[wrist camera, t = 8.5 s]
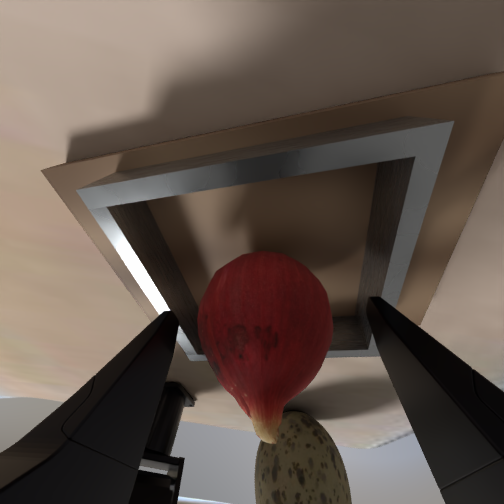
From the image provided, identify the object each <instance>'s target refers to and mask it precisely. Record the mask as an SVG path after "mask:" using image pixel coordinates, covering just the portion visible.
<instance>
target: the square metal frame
mask: <svg viewBox="0 0 504 504" xmlns="http://www.w3.org/2000/svg"><path fill="white" fill-rule="evenodd" d="M453 124H454V121H452V120H442V119H432V118H422V117H412V116H405V117H400V118H394V119H389V120H384V121H379V122H374V123H368V124H363V125H358V126H353V127H348V128H342V129H337V130H332V131H327V132H322V133H316V134H311V135H306V136H301V137H296V138H290V139H285V140H280V141H275V142H270V143H264V144H259V145H254V146H249V147H244V148H238V149H233V150H228V151H223V152H218V153H212V154H207V155H202V156H197V157H192V158H186V159H181V160H176V161H171V162H166V163H161V164H155V165H150V166H145V167H140V168H135V169H129V170H124V171H119V172H115V173H112V174H110V175H108V176H106V177H104V178H101V179H99V180H97V181H95V182H93V183H90V184H88V185H86V186H84V187H81V188H79V189H77V190H76V191H77V193H78V194H79V196H80V197H81V199H82V200H83V202H84V203H85V205H86V206H87V208H88V209H89V211H90V212H91V214H92V215H93V217H94V218H95V220H96V221H97V223H98V224H99V225H100V227H101V228H102V230H103V231H104V233H105V234H106V236H107V237H108V239H109V240H110V242H111V243H112V245H113V246H114V248H115V249H116V251H117V252H118V254H119V255H120V257H121V258H122V260H123V261H124V263H125V264H126V266H127V267H128V269H129V270H130V272H131V273H132V275H133V276H134V278H135V279H136V280H137V282H138V283H139V285H140V286H141V288H142V289H143V291H144V292H145V294H146V295H147V297H148V298H149V300H150V301H151V303H152V304H153V306H154V307H155V309H156V310H157V312H158V313H159V315H160V314H161V313H162V312H163V311H169V310H172V311H173V312H174V313H175V315H176V317H177V318H178V320H179V329H178V334H177V339H176V340H177V341H178V343H179V344H180V346H181V347H182V349H183V350H184V352H185V353H186V355H187V356H188V358H189V359H190V361H208V360H207V358H206V356H205V354H204V351H203V349H202V346H201V342H200V339H199V335H198V322H197V317H198V312H199V308H198V306H197V303H196V301H195V299H194V297H193V295H192V293H191V291H190V289H189V287H188V285H187V283H186V281H185V279H184V277H183V275H182V273H181V271H180V269H179V267H178V265H177V263H176V261H175V259H174V257H173V255H172V253H171V251H170V249H169V247H168V245H167V243H166V241H165V239H164V237H163V235H162V233H161V231H160V228H159V226H158V224H157V222H156V220H155V218H154V216H153V214H152V212H151V210H150V208H149V206H148V204H147V202H146V200H151V199H157V198H163V197H169V196H175V195H181V194H187V193H193V192H199V191H206V190H212V189H218V188H224V187H230V186H236V185H242V184H248V183H255V182H261V181H267V180H273V179H279V178H285V177H291V176H297V175H304V174H310V173H316V172H322V171H328V170H334V169H340V168H346V167H352V166H359V165H365V164H371V163H377V162H378V165H377V172H376V178H375V185H374V191H373V198H372V205H371V211H370V218H369V224H368V231H367V238H366V244H365V251H364V257H363V264H362V271H361V277H360V284H359V290H358V297H357V304H356V310H355V316H337V317H332V320H333V335H332V342H331V344H330V347H329V350H328V352H327V355H326V357H325V358H334V357H373V356H380V354H379V352H378V349H377V346H376V343H375V340H374V337H373V334H372V330H371V327H370V324H369V321H368V318H367V315H366V306H367V301H368V298H369V297H372V296H379V297H381V298H383V299H384V300H385V301H387V302H388V303H389V304H390V305H392V306H393V307H394V308H396V305H397V302H398V299H399V296H400V292H401V289H402V286H403V283H404V280H405V277H406V273H407V270H408V267H409V264H410V261H411V257H412V254H413V251H414V248H415V245H416V242H417V238H418V235H419V232H420V229H421V226H422V223H423V219H424V216H425V213H426V210H427V207H428V203H429V200H430V197H431V194H432V191H433V188H434V184H435V181H436V178H437V175H438V172H439V169H440V165H441V162H442V159H443V156H444V153H445V149H446V146H447V143H448V140H449V137H450V134H451V130H452V127H453Z"/></svg>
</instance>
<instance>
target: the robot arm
mask: <svg viewBox="0 0 504 504" xmlns="http://www.w3.org/2000/svg"><path fill="white" fill-rule="evenodd" d="M366 315H367V318H368V321H369V324H370V327H371V330H372V334H373V337H374V340H375V343H376V346H377V349H378V352H379V354H380V356H381V359H382V361H383V363H384V365H385V368H386V370H387V372H388V374H389V377H390V379H391V381H392V383H393V386H394V388H395V390H396V393H397V395H398V397H399V399H400V402H401V404H402V406H403V408H404V411H405V413H406V415H407V417H408V420H409V422H410V424H411V426H412V429H413V431H414V433H415V435H416V437H417V440H418V442H419V444H420V447H421V449H422V451H423V453H424V456H425V458H426V460H427V463H428V465H429V467H430V469H431V472H432V474H433V476H434V478H435V481H436V483H437V485H438V487H439V489H440V492H441V494H442V497H443V499H444V501H445V504H504V392H503V391H502V390H501V389H499V388H498V387H497V386H495V385H494V384H493V383H491V382H490V381H489V380H487V379H486V378H485V377H484V376H482V375H481V374H480V373H478V372H477V371H476V370H474V369H472V368H471V367H470V366H469V365H468V364H467V363H465V362H464V361H463V360H461V359H460V358H459V357H458V356H456V355H455V354H454V353H452V352H451V351H450V350H449V349H447V348H446V347H445V346H443V345H442V344H441V343H439V342H438V341H437V340H436V339H434V338H433V337H432V336H430V335H429V334H428V333H427V332H425V331H424V330H423V329H421V328H420V327H419V326H418V325H416V324H415V323H414V322H412V321H411V320H410V319H408V318H407V317H406V316H405V315H403V314H402V313H401V312H399V311H398V310H397V309H396V308H394V307H393V306H392V305H390V304H389V303H388V302H387V301H385V300H384V299H383V298H381V297H379V296H372V297H369V298H368V301H367V306H366ZM178 329H179V320H178V318H177V317H176V315H175V313H174V312H173V311H172V310H169V311H163V312H162V313H161V314H160V315H159V316H158V317H157V318H156V319H155V320H153V321H152V322H151V323H150V324H149V325H148V326H147V327H146V328H145V329H144V330H143V331H142V332H141V333H140V334H138V335H137V336H136V337H135V338H134V339H133V340H132V341H131V342H130V343H129V344H128V345H127V346H126V347H124V348H123V349H122V350H121V351H120V352H119V353H118V354H117V355H116V356H115V357H114V358H113V359H112V360H111V361H109V362H108V363H107V364H106V365H105V366H104V367H103V368H102V369H101V370H100V371H99V372H98V373H97V374H96V375H95V376H93V377H92V378H91V379H90V380H89V381H88V382H87V383H86V384H85V385H84V386H82V387H81V388H80V389H79V390H78V391H77V392H76V393H75V394H74V395H72V396H71V397H70V398H69V399H68V400H67V401H65V402H64V403H63V404H62V405H61V406H60V407H58V408H57V409H56V410H55V411H54V412H53V413H51V414H50V415H49V416H48V417H47V418H45V419H44V420H43V421H42V422H41V423H39V424H38V425H37V426H36V427H35V428H33V429H32V430H31V431H30V432H29V433H27V434H26V435H25V436H24V437H23V438H22V439H20V440H19V441H18V442H16V443H15V444H14V445H12V446H11V447H9V448H8V449H6V450H4V451H3V452H1V453H0V504H177V501H178V495H179V489H180V482H181V477H182V472H183V465H184V459H185V458H182V457H179V458H177V457H172V456H170V454H171V451H172V447H173V444H174V440H175V437H176V433H177V430H178V426H179V422H180V419H181V415H182V412H183V408H184V407H194V405H195V402H194V401H193V399H192V398H191V397H190V396H189V395H188V393H187V392H186V391H185V390H184V389H183V387H182V386H181V385H180V384H178V383H165V381H166V377H167V374H168V371H169V367H170V364H171V361H172V357H173V353H174V349H175V344H176V339H177V334H178ZM139 466H144V467H150V468H155V469H160V470H166V471H168V473H167V475H164V474H159V473H153V472H147V471H142V470H138V469H139Z"/></svg>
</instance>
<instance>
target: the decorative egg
mask: <svg viewBox="0 0 504 504" xmlns="http://www.w3.org/2000/svg"><path fill="white" fill-rule="evenodd" d="M278 430H279V436H278V440H277V443H276V444H272V443H267V442H264V441H262V440H261V441H260V444H259V448H258V451H257V456H256V464H255V496H256V504H352V502H351V495H350V487H349V482H348V478H347V474H346V470H345V466H344V463H343V461H342V458H341V455H340V453H339V451H338V449H337V447H336V445H335V443H334V441H333V439H332V438H331V436H330V435H329V434H328V432H327V431H326V430H325V429H324V427H323V426H322V425H321V424H320V423H319V422H317V421H316V420H315V419H314V418H312V417H311V416H309V415H307V414H305V413H302V412H299V411H289V412H285V413H283V414H282V420H281V424H280V426H279V427H278Z"/></svg>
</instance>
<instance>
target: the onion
mask: <svg viewBox="0 0 504 504" xmlns="http://www.w3.org/2000/svg"><path fill="white" fill-rule="evenodd" d="M197 322H198V335H199V339H200V342H201V346H202V349H203V351H204V354H205V356H206V358H207V360H208V362H209V364H210V366H211V367H212V369H213V371H214V372H215V375H216V377H217V379H218V381H219V382H220V383H221V385H222V386H223V387H224V388H225V389H226V390H227V391H228V392H229V393H230V394H231V395H232V396H233V397H234V398H235V399H236V401H237V402H238V404H239V405H240V407H241V408H242V409H243V410H244V412H245V413H246V414H247V415H248V416H249V417H250V419H251V420H252V422H253V425H254V428H255V432H256V435H257V436H258V437H259V438H260V439H261V440H262V441H264V442H267V443H272V444H276V443H277V440H278V436H279V430H278V427H279V426H280V424H281V420H282V414H283V409H284V405H286V404H287V403H288V402H289V401H290V400H291V399H292V398H294V397H295V396H297V395H298V394H299V393H300V392H301V391H303V390H304V389H305V388H306V387H307V386H308V385H309V384H310V383H311V381H312V380H313V379H314V378H315V376H316V375H317V373H318V371H319V370H320V368H321V366H322V364H323V361H324V359H325V357H326V355H327V352H328V350H329V347H330V344H331V342H332V335H333V320H332V314H331V309H330V304H329V299H328V295H327V292H326V290H325V288H324V287H323V285H322V284H321V282H320V280H319V279H318V278H317V277H316V276H315V275H314V274H313V273H312V272H311V271H310V270H309V269H308V268H307V267H306V266H305V265H303V264H302V263H300V262H299V261H297V260H295V259H293V258H291V257H289V256H287V255H285V254H283V253H278V252H269V251H258V252H253V253H247V254H242V255H240V256H239V257H237V258H235V259H234V260H232V261H230V262H229V263H227V264H226V265H224V266H223V267H221V268H220V269H218V270H217V271H216V272H215V274H214V276H213V277H212V279H211V281H210V283H209V285H208V287H207V289H206V291H205V293H204V295H203V297H202V299H201V301H200V306H199V312H198V317H197Z"/></svg>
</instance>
